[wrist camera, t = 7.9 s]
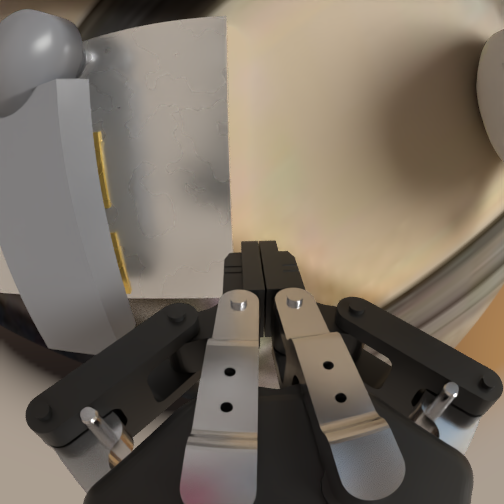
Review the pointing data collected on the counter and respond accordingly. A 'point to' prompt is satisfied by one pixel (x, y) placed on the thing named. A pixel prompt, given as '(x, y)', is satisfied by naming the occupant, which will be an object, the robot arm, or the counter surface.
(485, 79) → the teacup
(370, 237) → the counter surface
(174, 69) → the panel
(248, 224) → the counter surface
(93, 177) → the swing bar
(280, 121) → the counter surface
